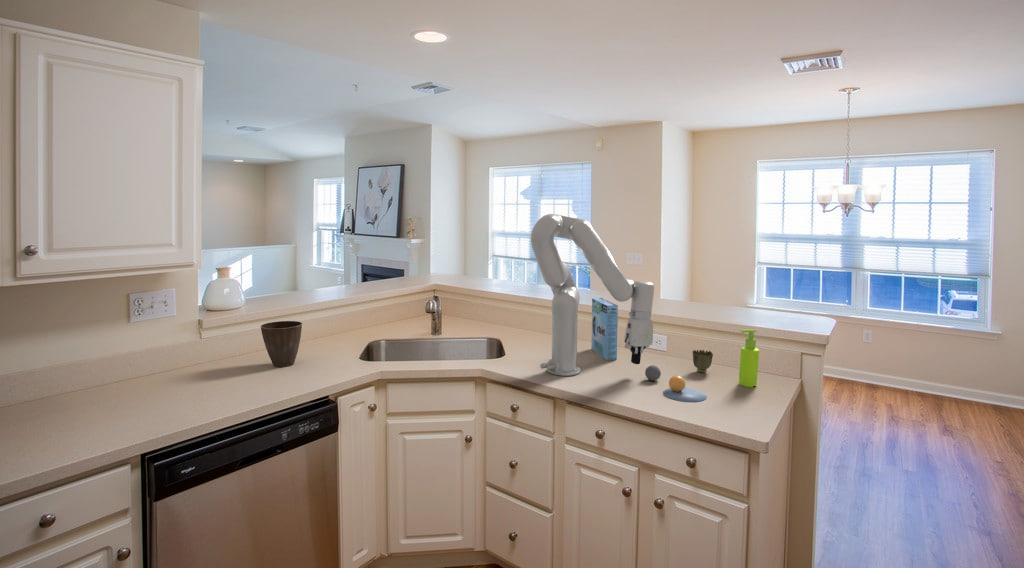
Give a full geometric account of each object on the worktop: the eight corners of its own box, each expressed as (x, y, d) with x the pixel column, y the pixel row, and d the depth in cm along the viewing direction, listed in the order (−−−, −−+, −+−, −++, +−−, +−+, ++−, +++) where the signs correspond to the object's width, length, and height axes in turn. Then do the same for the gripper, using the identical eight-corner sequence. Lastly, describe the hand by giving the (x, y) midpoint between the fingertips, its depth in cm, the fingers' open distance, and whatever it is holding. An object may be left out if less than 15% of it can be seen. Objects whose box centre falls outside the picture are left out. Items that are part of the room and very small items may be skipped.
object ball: (664, 376, 192) (666, 392, 192) (676, 377, 187) (677, 393, 187) (676, 373, 194) (677, 389, 194) (688, 375, 190) (689, 391, 189)
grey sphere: (642, 364, 203) (641, 379, 203) (654, 365, 199) (653, 381, 199) (652, 364, 207) (651, 379, 206) (664, 366, 202) (663, 381, 202)
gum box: (616, 360, 230) (618, 305, 226) (605, 360, 229) (606, 305, 225) (601, 348, 248) (602, 297, 245) (590, 348, 248) (591, 297, 244)
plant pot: (253, 367, 215) (251, 326, 213) (283, 357, 228) (281, 319, 226) (283, 371, 209) (281, 330, 207) (312, 361, 223) (310, 322, 221)
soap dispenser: (733, 382, 202) (736, 327, 199) (751, 381, 202) (755, 327, 200) (740, 387, 196) (744, 331, 193) (759, 387, 197) (763, 331, 194)
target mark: (684, 404, 178) (684, 404, 178) (654, 391, 191) (654, 391, 191) (716, 398, 185) (716, 397, 185) (684, 385, 197) (685, 385, 197)
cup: (713, 375, 209) (714, 355, 208) (692, 374, 211) (693, 353, 210) (710, 370, 217) (711, 350, 215) (690, 368, 218) (691, 348, 217)
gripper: (631, 317, 198) (625, 367, 201) (663, 316, 205) (657, 364, 208) (618, 313, 204) (613, 361, 207) (649, 312, 211) (644, 359, 214)
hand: (635, 363), depth 207 cm, fingers closed
